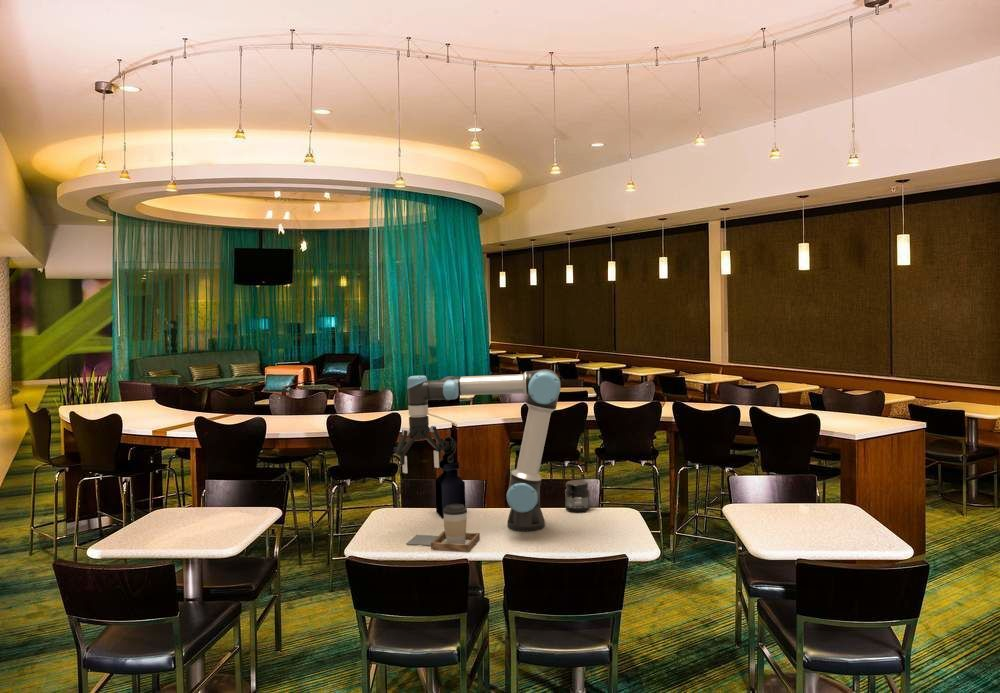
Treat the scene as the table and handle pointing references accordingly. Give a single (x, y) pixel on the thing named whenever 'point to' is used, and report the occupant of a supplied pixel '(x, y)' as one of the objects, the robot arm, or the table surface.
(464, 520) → the coffee cup
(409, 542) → the mat
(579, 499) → the supplement container
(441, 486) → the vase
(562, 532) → the table surface
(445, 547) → the wooden square frame
